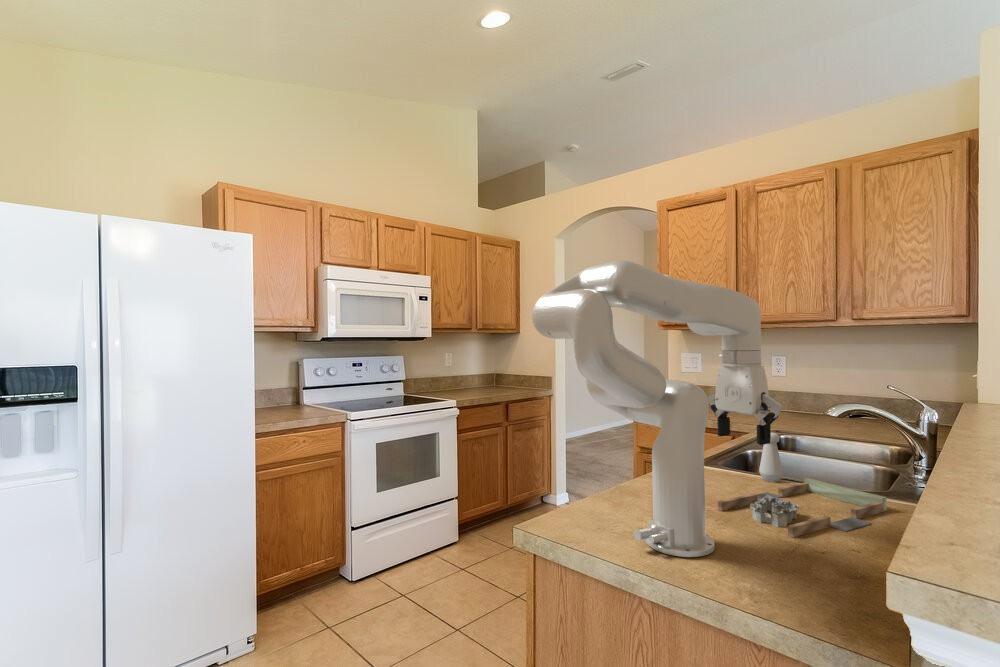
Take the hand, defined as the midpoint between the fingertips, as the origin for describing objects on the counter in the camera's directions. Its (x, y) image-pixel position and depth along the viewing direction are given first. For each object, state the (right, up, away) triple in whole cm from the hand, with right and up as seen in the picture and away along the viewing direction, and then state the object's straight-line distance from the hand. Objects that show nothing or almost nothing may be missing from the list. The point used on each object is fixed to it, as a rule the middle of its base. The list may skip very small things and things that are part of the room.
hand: (743, 439), depth 106 cm
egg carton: (+9, -18, +4) cm, 21 cm away
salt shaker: (+23, -18, +32) cm, 43 cm away
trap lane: (+17, -18, +8) cm, 26 cm away
